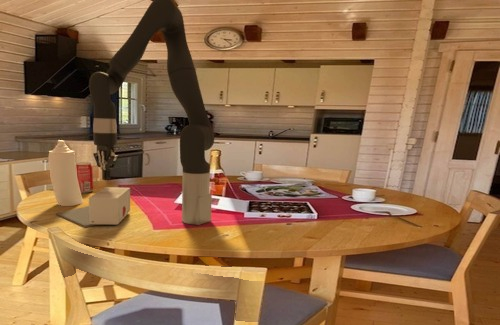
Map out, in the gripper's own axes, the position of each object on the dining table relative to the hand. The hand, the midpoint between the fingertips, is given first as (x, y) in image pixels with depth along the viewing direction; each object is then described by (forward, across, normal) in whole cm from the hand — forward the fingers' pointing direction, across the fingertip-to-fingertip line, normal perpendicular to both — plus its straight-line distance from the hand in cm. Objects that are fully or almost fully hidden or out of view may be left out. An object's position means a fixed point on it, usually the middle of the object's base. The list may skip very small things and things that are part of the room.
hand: (106, 179), depth 115 cm
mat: (+12, 0, +6) cm, 13 cm away
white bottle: (+12, +20, +4) cm, 24 cm away
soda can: (+12, +36, -10) cm, 39 cm away
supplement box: (+7, -4, -2) cm, 8 cm away
